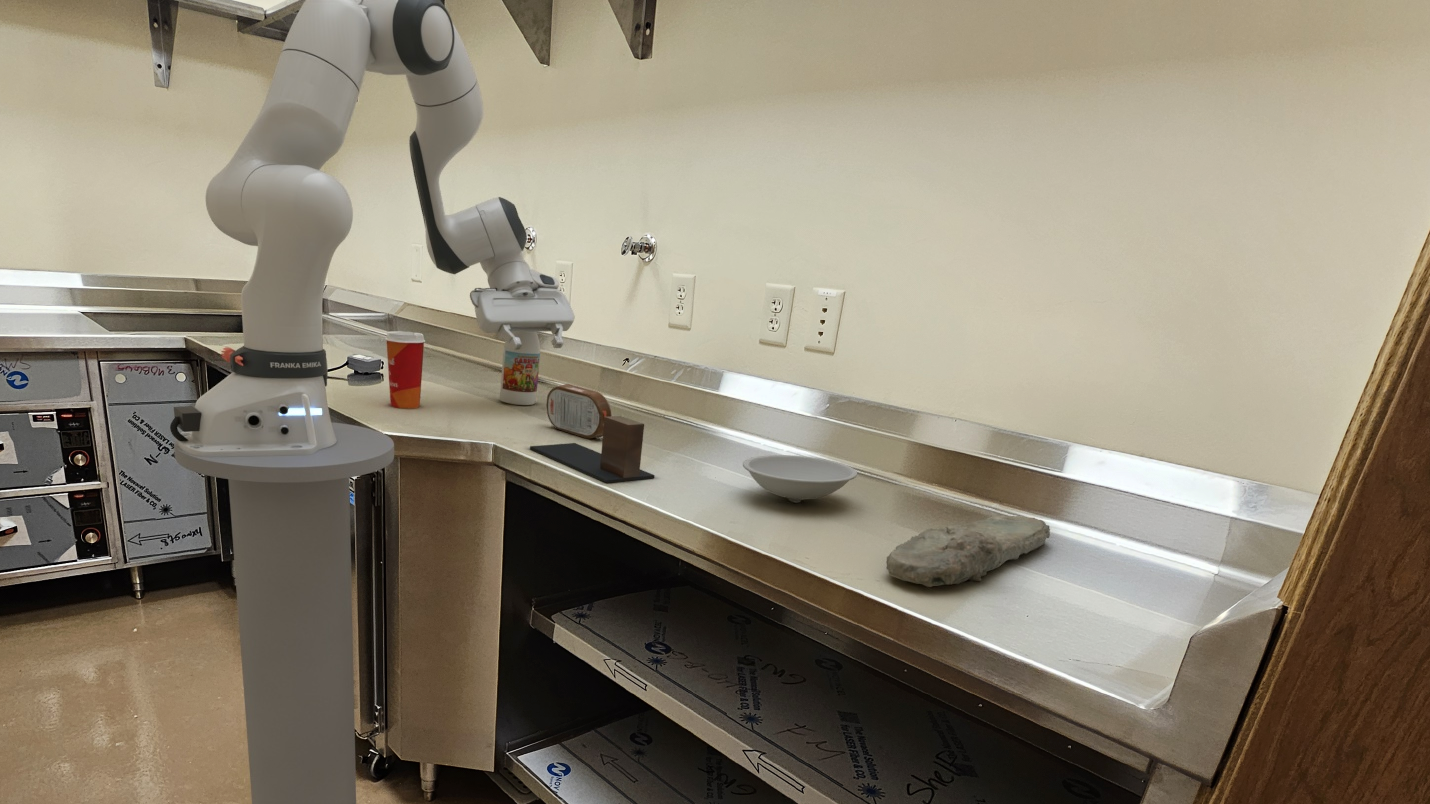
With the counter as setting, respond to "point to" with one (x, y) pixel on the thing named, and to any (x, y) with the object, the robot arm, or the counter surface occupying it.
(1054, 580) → the counter surface
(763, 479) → the dish
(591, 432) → the tin
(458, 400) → the counter surface
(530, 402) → the milk bottle
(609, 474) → the mat
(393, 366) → the paper cup
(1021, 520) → the long grey stone
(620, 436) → the brown rectangular block
